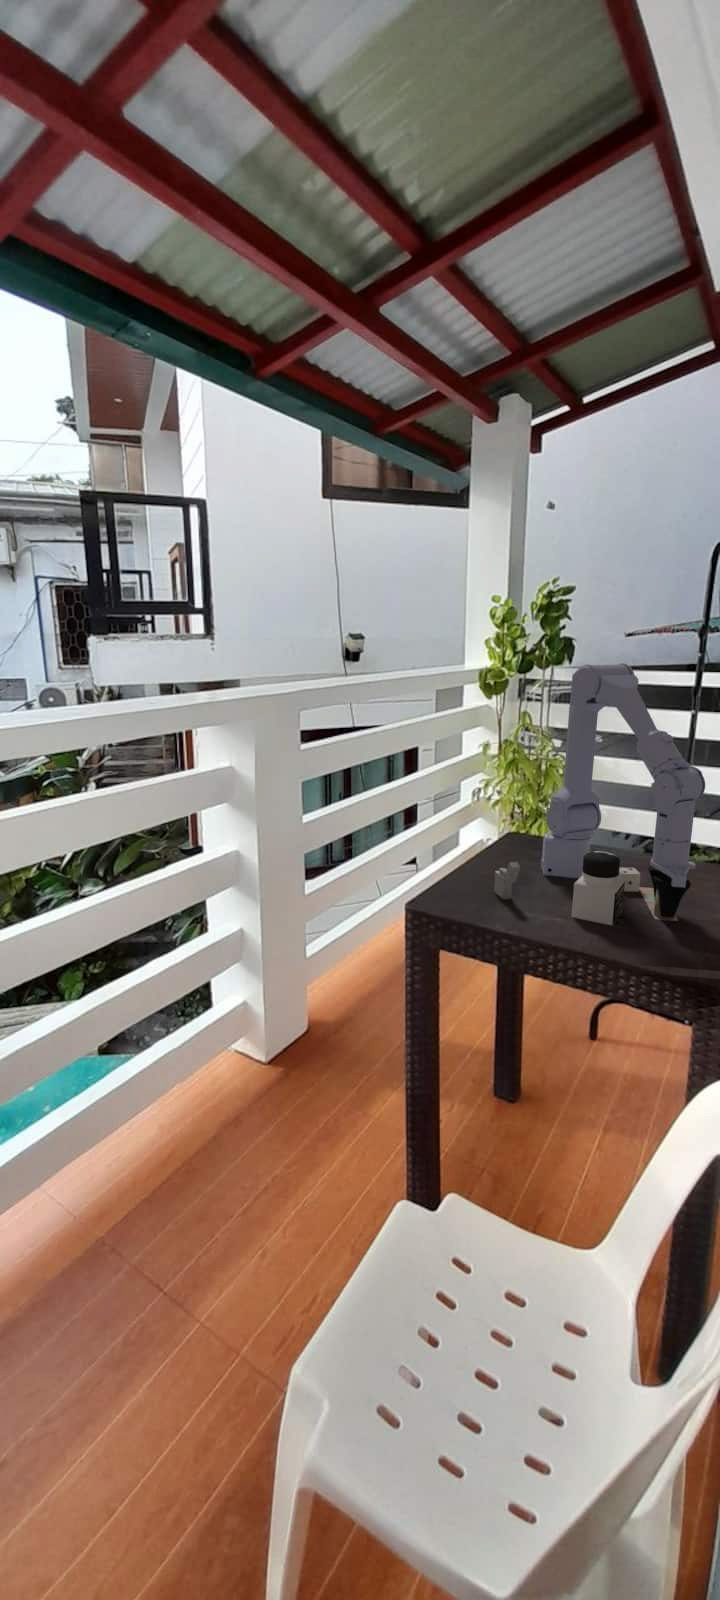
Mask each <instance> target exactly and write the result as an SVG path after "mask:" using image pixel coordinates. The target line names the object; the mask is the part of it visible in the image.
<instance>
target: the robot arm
mask: <svg viewBox="0 0 720 1600" xmlns="http://www.w3.org/2000/svg"><path fill="white" fill-rule="evenodd" d="M571 678H572V679H571V688H570V700H569V707H568V721H567V722H568V723H567V733H566V744H565V745H566V748H565V758H564V759H565V761H564V772H563V773H564V774H563V787H562V788H560V789H559V790H558V791H557V792H556V793H555V794H554V795H552V796H551V797H550V803H549V807H548V809H547V812H546V817H545V818H546V825H547V828H548V830H549V831H550V832H549V833H547V832H545V833H544V834H543V840H542V856H541V859H540V868H541V869H542V876H551V877H552V876H553V877H563V878H568V879H569V878H571V879H579V878H580V877H581V876H582V869H583V857H584V855H585V854H587V853H590V851H591V850H590V849H591V838H592V836H594V835H595V831H597V830H598V828H599V827H600V826H601V823H602V811H601V808H600V800H601V799H600V797H599V795H598V794H596V793H595V792H594V791H593V790H592V786H593V785H592V784H593V774H594V773H593V772H594V762H595V761H594V760H595V751H596V750H595V749H596V741H597V740H596V737H597V727H598V716H599V715H598V714H599V712H600V711H601V710H602V709H603V708H605V707H606V706H610V707H614V708H616V710H617V711H618V712H619V713H620V714H621V715H620V716H621V717H622V718H623V719H624V721H625V722H626V724H628V727H629V728H630V729H631V731H632V732H633V734H634V735H635V736H636V738H637V739H638V740H637V742H636V745H635V746H636V748H635V749H636V751H637V753H638V755H639V757H640V759H641V760H642V762H643V763H644V766H645V767H646V769H647V771H648V772H649V774H650V775H651V778H652V779H653V783H652V782H651V792H652V796H653V797H654V801H655V804H654V808H655V811H656V820H655V829H654V839H653V849H652V850H653V851H652V858H651V859H650V865H649V866H647V870H648V873H649V875H650V878H651V882H652V883H651V884H652V888H653V889H654V899H655V897H656V889H657V888H658V894H659V909H660V914H661V916H662V917H674V916H676V914H677V911H678V909H679V906H680V903H681V901H682V899H683V897H684V895H685V894H686V892H687V891H688V890H689V889H690V888H691V885H692V883H691V881H690V880H689V879H687V874H688V872H689V870H690V869H692V870H694V869H696V866H697V865H696V863H695V862H694V861H689V860H690V852H691V843H692V832H693V826H694V825H693V824H694V816H695V808H696V801H697V800H699V799H700V798H701V797H702V796H703V794H704V793H705V790H706V780H705V777H704V776H703V772H702V770H700V769H699V768H698V767H696V766H692V765H691V764H690V763H689V762H687V761H686V760H685V758H684V757H683V755H682V754H681V752H680V750H679V749H678V748H677V746H676V744H675V743H674V737H673V736H672V734H669V733H668V732H667V731H665V730H660V729H657V727H656V724H655V722H654V720H653V718H652V717H651V714H650V712H649V711H648V708H647V707H646V703H645V702H644V701H643V698H642V696H641V695H640V692H639V691H638V687H639V678H638V677H637V676H636V675H635V672H634V669H633V668H632V667H631V665H629V664H627V663H617V664H616V663H614V664H613V663H612V664H589V663H588V664H583V665H581V666H580V667H579V668H577V670H576V671H575V672H574V673H573V674H572V677H571ZM549 869H550V870H549Z"/></svg>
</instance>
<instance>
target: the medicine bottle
mask: <svg viewBox="0 0 720 1600" xmlns="http://www.w3.org/2000/svg"><path fill="white" fill-rule="evenodd" d="M620 863H621V859H620V858H619V856H617V855H616V854H613V853H611V852H608V851H600V850H599V851H598V850H596V851H591V852H590V853H587V854H585V855H584V857H583V869H582V876H581V877H580V878H577V880H576V881H575V882H574V884H573V892H572V894H573V895H572V896H573V897H572V904H571V905H572V907H571V918H573V919H579V920H583V921H590V922H594V923H598V924H599V923H600V924H604V925H609V926H615V924H616V922H617V921H618V920H619V918H620V916H621V915H622V913H623V905H624V895H625V894H624V893H625V891H624V885H625V880H624V879H621V878H619V868H621V867H620V866H621V864H620Z"/></svg>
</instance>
